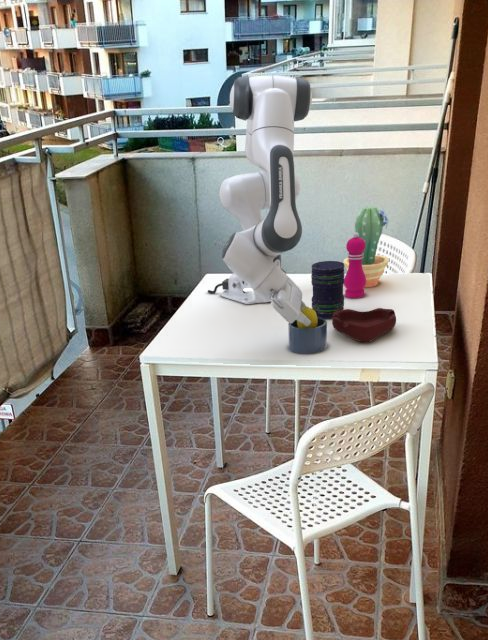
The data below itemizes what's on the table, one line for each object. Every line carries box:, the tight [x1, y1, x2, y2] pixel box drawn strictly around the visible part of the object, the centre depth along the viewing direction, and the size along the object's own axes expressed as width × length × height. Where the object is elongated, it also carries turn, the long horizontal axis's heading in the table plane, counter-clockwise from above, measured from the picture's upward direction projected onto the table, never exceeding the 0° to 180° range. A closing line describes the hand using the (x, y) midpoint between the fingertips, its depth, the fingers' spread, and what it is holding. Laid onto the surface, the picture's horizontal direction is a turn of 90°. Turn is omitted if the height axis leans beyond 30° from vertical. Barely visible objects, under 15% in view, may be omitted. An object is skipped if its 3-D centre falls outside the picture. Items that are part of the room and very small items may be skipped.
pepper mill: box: [343, 232, 366, 299], centre depth 223 cm, size 7×7×20 cm
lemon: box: [297, 306, 318, 328], centre depth 188 cm, size 6×6×8 cm
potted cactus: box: [342, 205, 390, 288], centre depth 232 cm, size 15×15×25 cm
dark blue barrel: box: [310, 260, 346, 320], centre depth 210 cm, size 10×10×15 cm
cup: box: [287, 317, 328, 355], centre depth 190 cm, size 10×10×7 cm
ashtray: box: [331, 307, 397, 344], centre depth 195 cm, size 18×16×5 cm
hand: (309, 319), depth 187 cm, fingers closed on lemon, 5 cm apart
